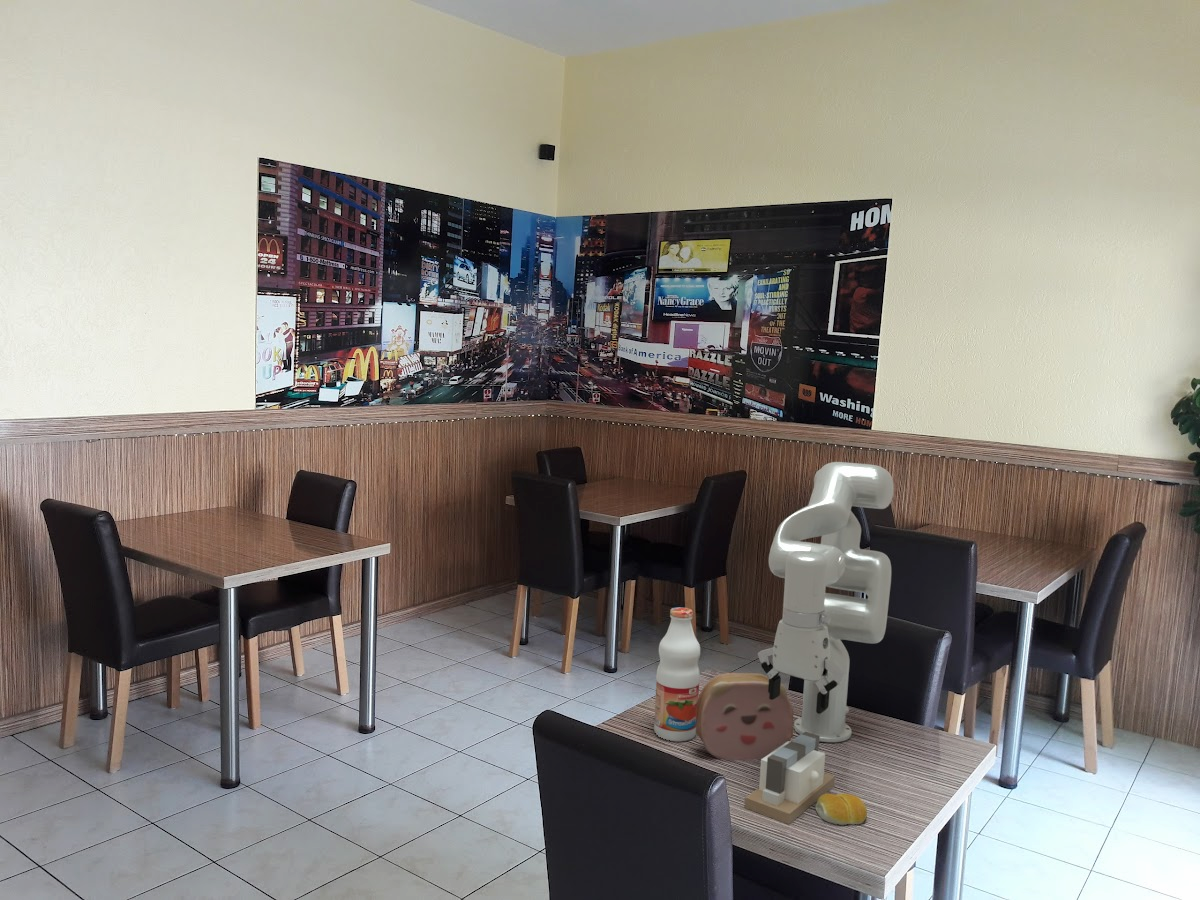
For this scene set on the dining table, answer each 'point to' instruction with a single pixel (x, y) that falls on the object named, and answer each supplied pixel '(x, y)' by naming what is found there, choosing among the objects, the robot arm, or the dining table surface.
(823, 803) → the bread roll
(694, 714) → the fruit juice
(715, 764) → the dining table surface
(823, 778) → the white block on board
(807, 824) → the dining table surface
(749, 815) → the dining table surface
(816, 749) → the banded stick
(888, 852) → the dining table surface
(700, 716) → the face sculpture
